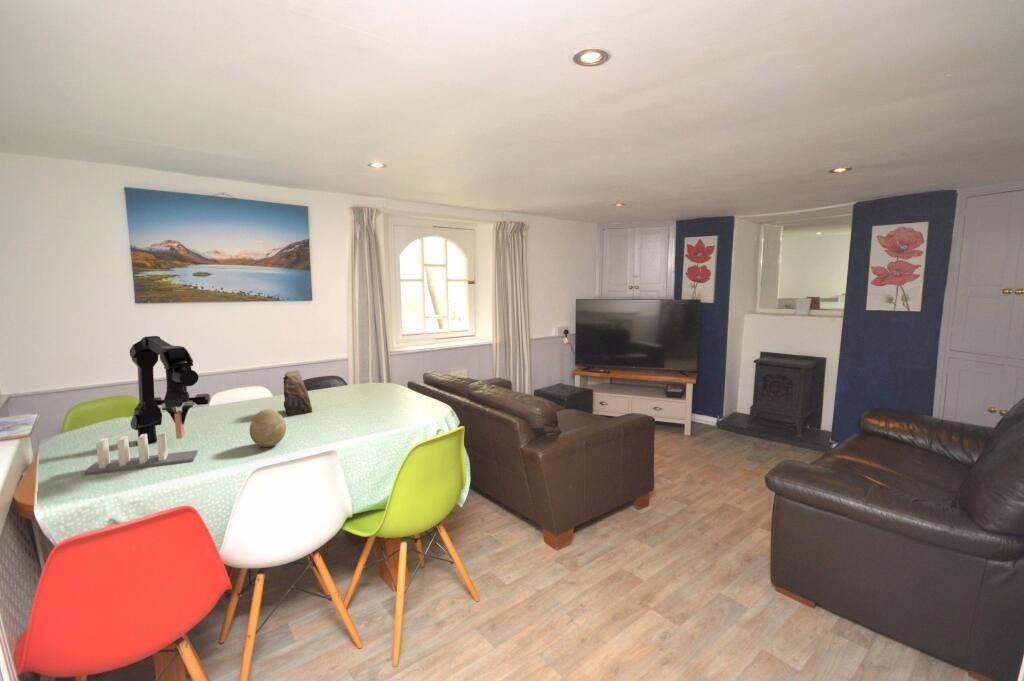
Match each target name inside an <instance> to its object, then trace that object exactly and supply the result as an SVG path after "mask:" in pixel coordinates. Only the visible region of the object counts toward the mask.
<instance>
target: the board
mask: <svg viewBox="0 0 1024 681" xmlns="http://www.w3.org/2000/svg"><path fill="white" fill-rule="evenodd" d="M198 453H199V452H198V450H188V451H179V452H171V453H169V452H168V456H167V458H166V459H165V460H164V461H159V456H158V454H154V455H153V454H152V455H149V459H148V460H147V461H146V463H140V462H139V456H137V457H130V461H129V462H128V463H127V464H126V465H123V466H120V464H119V458H118V459H113V460H112V459H110V463H109V464H108V465H107V466H106V467H105V468H99V463H98V461H95V462H93V463H92V465H90V466H89V467H88V468H87V469H86V470H85V471H84V473H83V474H84V476H89V475H96V474H97V475H98V474H103V473H112V472H114V473H115V472H120V471H128V470H129V471H130V470H134V469H135V470H136V469H144V468H145V469H146V468H151V467H153V468H154V467H160V466H168V465H175V464H184V463H191V462H194V460H195V458H196V456H197V455H198Z"/></svg>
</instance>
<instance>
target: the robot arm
mask: <svg viewBox="0 0 1024 681" xmlns="http://www.w3.org/2000/svg"><path fill="white" fill-rule="evenodd" d="M129 356H130V358H131V361H132V363H133V364H134V365H135V366H137V379H138V400H139V401H138V403H137V405H136V407H135V408H134V411H133V412H134V413H133V415H132V418H131V420H130V428H131V429H133V430H134V431H137V439H138V438H139V436H140V435H141V434H147V438H148V444H154V443H157V430H156V429H157V427H156V426H161V425H162V422H163V412H162V411H166V412H167V413H168V414H169V415H170V417H171V419H172V420H173V422H174V424H175V416H174V414H175V413H176V412H177V408H180V407H181V410H182V424H184V425H185V421H186V419H187V415H188V413H189V410H190V409H191V408H193V407H194V405H196V406H202V405H208V404H209V403H210V402H211V395H210V394H209V393H198V394H196V395H195V396H194V397H193V396H192V397H190V393H189V391H188V387H191V386H194V385H196V383H198V381H199V374H198V373H197V372H196V371H195V370H193V369H192V367H193V366H194V360H193V358H192V356H191V355H190V352H189V351H188V350H187V349H186V347H184V346H180V345H172V344H170V343H168V342H167V341H165V340H164V339H162V338H161V337H160V336H158V335H152V336H151V335H150V336H149V335H147V336H144V337H142V338H141V340H139V341H137V342H136V343H134V344H132V346H131V347H130V349H129ZM158 361H161V362H160V363H162V364H163V369H164V370H165V378H166V379H165V380H166V393H165V395H164V399H162V397H160V396H159V397H155V379H154V378H155V377H154V376H155V375H154V367H155V365H156V364H157V362H158ZM159 406H161V407H159ZM161 410H162V411H161ZM135 445H137V446H138V441H137V440H136V442H135Z"/></svg>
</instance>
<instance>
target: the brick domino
mask: <svg viewBox="0 0 1024 681" xmlns="http://www.w3.org/2000/svg"><path fill="white" fill-rule="evenodd" d="M174 416H175V423H174V424H175V438H176V440H177V439H179V440H180V439H182V438H183V437H184V435H185V434H186V432H185V431H186V430H185V423H184V424H182V409H180V410H176V413H175V414H174Z"/></svg>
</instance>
